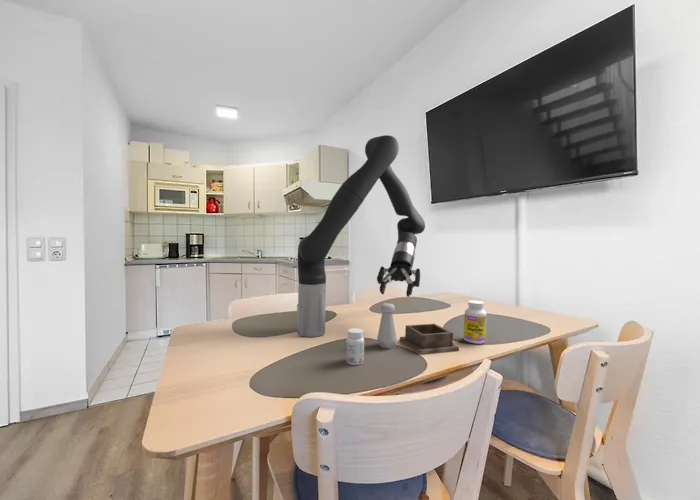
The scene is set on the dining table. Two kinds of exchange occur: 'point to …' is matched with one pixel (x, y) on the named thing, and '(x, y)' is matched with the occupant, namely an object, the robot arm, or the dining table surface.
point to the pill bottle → (355, 347)
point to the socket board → (428, 339)
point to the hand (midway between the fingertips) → (394, 294)
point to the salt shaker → (387, 327)
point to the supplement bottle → (475, 323)
